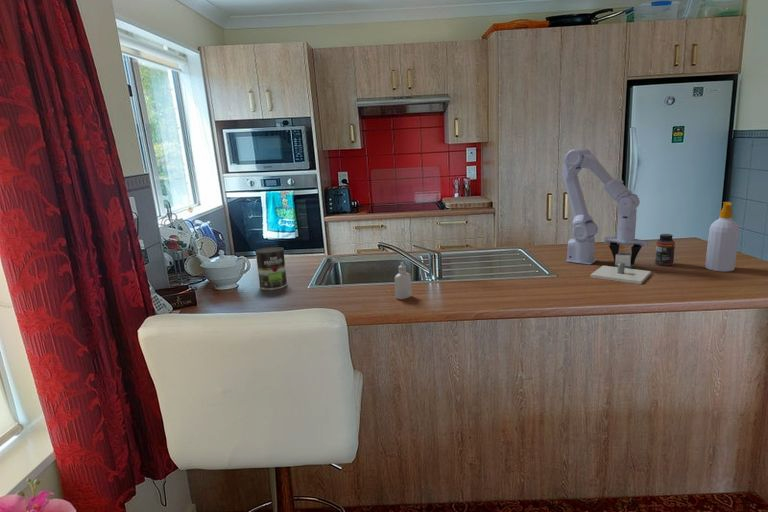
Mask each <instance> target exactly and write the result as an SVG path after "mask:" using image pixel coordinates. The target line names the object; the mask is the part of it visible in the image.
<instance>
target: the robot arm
mask: <svg viewBox="0 0 768 512" xmlns="http://www.w3.org/2000/svg"><path fill="white" fill-rule="evenodd" d="M582 169H588V170H590V171H591V172H592V173H593V174H594V175H595V177H597V178H598V180H600V181H601V182H602V183H603V184H604V191H606V192H607V194H608V195H609V196H610V197H611V198H612V200H613V201H615V202H616V207H617V208H618V212H619V213H618V222H617V223H618V227H617V237H616V236H615V237H613V236H612V237H610V236H605V237H604V238H603V239H604V241H603V244H609V245H608V247H609V249H610V251H611V254H612V256H613V262H614V264H615V257H616V254H617V253H619V252H620V251H619V249H620V245H627V246H629V245H630V246H631V248H630V249H631V253H632V257H631V265H633V266H634V265H635V262H636V259H637V257H638V254H639V253H640V251H641V249H642V248H643V247H644V248H647V247H648V246H649V240H645V239H644V240H643V239H638V238H636V229H637V228H636V225H637V211H638V209H637V208H638V207H639V205H640V197H639V196H638V195H637V194H635V193H633V191H632V190H631V189H630V190H629V189H628V187H626V185H624V180H623V179H619V178H613V177H612V175H611V174H610V173H609V172H608V171H607V169H606V168H605V167H604V166H603V164H602V163H601V162H600V160H598V158H597V156H596V155H595V154H594V153H592V152H591V150H590V149H588V148H585V147H582V148H573V149H570V150H568V152H567V153H566V154H565V155H564V157H563V166H562V171H561V176H562V180H563V184H564V187H565V191H566V194H567V198H568V201H569V204H570V208H571V212H572V214H573V220H572V223H571V224H572V235H573V237H574V238H569V239H568V242H567V251H566V252H567V254H566V256H567V257H566V262H567V263H577V264H583V265H592V264H594V263H595V262H596V261H598V258H594V257H595V242H596V241H595V240H596V239H595V235H596V234H597V233H598V229H599V228H598V225H597V224H596V222H595V221H594V219H593V217H592V215H591V214H590V213H589V210H588V208H587V204H586V201H585V198H584V197H585V196H584V193H583V190H582V186H581V183H580V180H579V177H578V174H579V173H580V171H581V170H582Z"/></svg>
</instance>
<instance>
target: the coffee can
mask: <svg viewBox="0 0 768 512" xmlns="http://www.w3.org/2000/svg"><path fill="white" fill-rule="evenodd" d="M284 252H285V251H284V247H280V246H268V247H262V248H258V249H256V250H255V257H256V265H257V266H256V267H257V273H258V274H257V275H258V276H257V277H258V283H259V284H258V285H259V289H260V290H263V291H273V290H279V289H283V288H285V287H287V286H288V282H287V281H288V280H287V272H286V271H287V269H286V261H285V253H284Z"/></svg>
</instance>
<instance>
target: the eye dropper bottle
mask: <svg viewBox="0 0 768 512" xmlns="http://www.w3.org/2000/svg"><path fill="white" fill-rule="evenodd" d="M394 293H395V299H398V300H405V299H408V298H411V297H412V277H411V274H410V272H407V266H406V265H404V262H403V261H401V262H400V265H399V266H398V273H397V274H395V276H394Z"/></svg>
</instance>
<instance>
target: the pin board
mask: <svg viewBox="0 0 768 512" xmlns="http://www.w3.org/2000/svg"><path fill="white" fill-rule="evenodd" d="M651 274H652V272H651V271H650V270H644V269H636V268H635V269H634V268H631V269H628V268H625V263H618V267H615V266H610V265H609V266H608V265H601V266H600V267H599V268H598V269H596V270H595V271H593V272H591V274H590V278H592V279H593V278H594V279H601V280H607V281H613V282H614V281H616V282H621V283H629V284H637V285H642V283H644V282H645V281H646V280H647V279H648V277H650V275H651Z"/></svg>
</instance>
